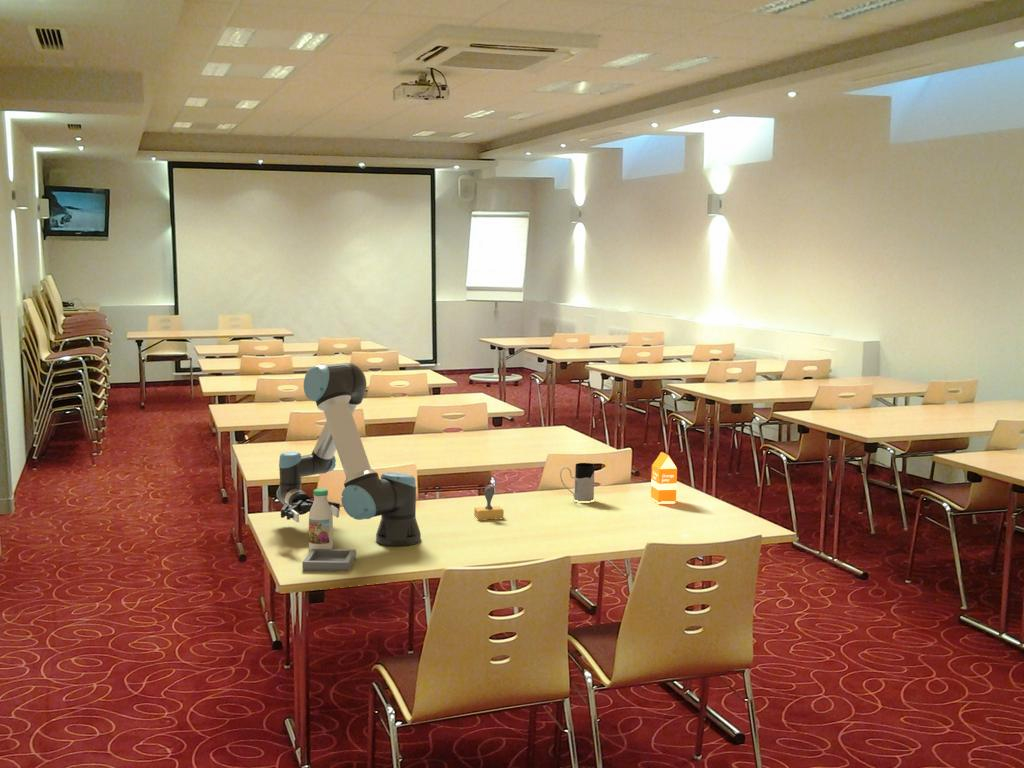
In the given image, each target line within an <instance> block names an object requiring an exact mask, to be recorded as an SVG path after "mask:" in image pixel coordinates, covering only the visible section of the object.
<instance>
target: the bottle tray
mask: <svg viewBox="0 0 1024 768" xmlns="http://www.w3.org/2000/svg"><path fill="white" fill-rule="evenodd" d="M356 558H357V550H356V549H353V548H352V549H349V548H345V549H344V548H343V549H342V548H341V549H339V548H332V549H312V550H309V552H308V554H307V555H306V557H305V558H304V559H303V561H302V562H301V563H302V565H301V566H302V568H301V569H302V571H303V570H304V571H303V572H337V571H350V570H351V568H352V567H353V564H354V563H353V562H355V561H356ZM349 569H350V570H349Z"/></svg>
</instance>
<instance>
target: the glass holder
mask: <svg viewBox="0 0 1024 768" xmlns="http://www.w3.org/2000/svg"><path fill="white" fill-rule="evenodd" d="M565 469H567V470H568V471H569V473H570V474H569V475H570V478H571V479H574V492H573V491H572V490H571V489H569V488H568V487H567V485H566V484H565V483H564V481H563V478H562V472H563V470H565ZM574 471H575V473H574V474H575V475H574V477H573V476H572V471H571V469H570V468H569V467H566V466H565V467H562V468H561V470H560V472H559V476H560V481H561V483H562V485H563V487H564V488H565V489H567V490H568V491H569V492H570V493H572V495H573V500H574V499H575V500H578V501H591V500H593V499H594V500H595V497H594V496H595V464H594V463H590V462H579V463H576V464H575V470H574Z"/></svg>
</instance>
